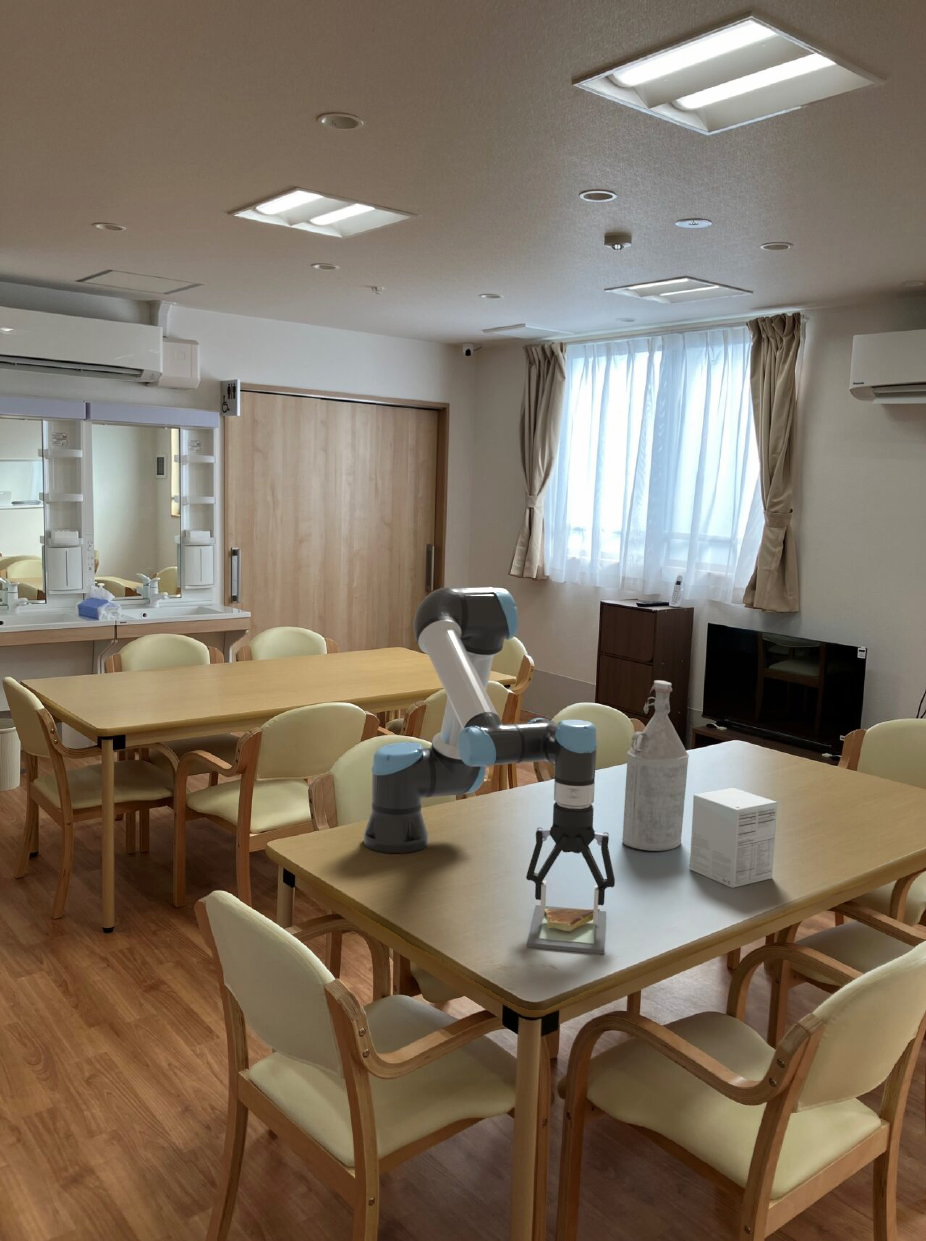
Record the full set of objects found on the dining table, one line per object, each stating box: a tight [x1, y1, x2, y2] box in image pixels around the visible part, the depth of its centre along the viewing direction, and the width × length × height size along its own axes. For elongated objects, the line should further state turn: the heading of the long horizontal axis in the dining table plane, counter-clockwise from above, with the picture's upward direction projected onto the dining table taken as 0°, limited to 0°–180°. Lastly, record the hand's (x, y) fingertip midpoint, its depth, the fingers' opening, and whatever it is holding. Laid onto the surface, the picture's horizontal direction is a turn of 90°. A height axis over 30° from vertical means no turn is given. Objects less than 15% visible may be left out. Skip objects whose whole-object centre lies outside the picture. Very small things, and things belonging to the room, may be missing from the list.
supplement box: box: [689, 787, 778, 889], centre depth 224 cm, size 13×13×18 cm
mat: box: [526, 904, 607, 955], centre depth 192 cm, size 14×18×1 cm
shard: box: [544, 908, 601, 931], centre depth 190 cm, size 11×8×2 cm
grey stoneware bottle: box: [621, 679, 690, 852], centre depth 242 cm, size 13×17×40 cm
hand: (568, 918), depth 192 cm, fingers closed on shard, 9 cm apart
